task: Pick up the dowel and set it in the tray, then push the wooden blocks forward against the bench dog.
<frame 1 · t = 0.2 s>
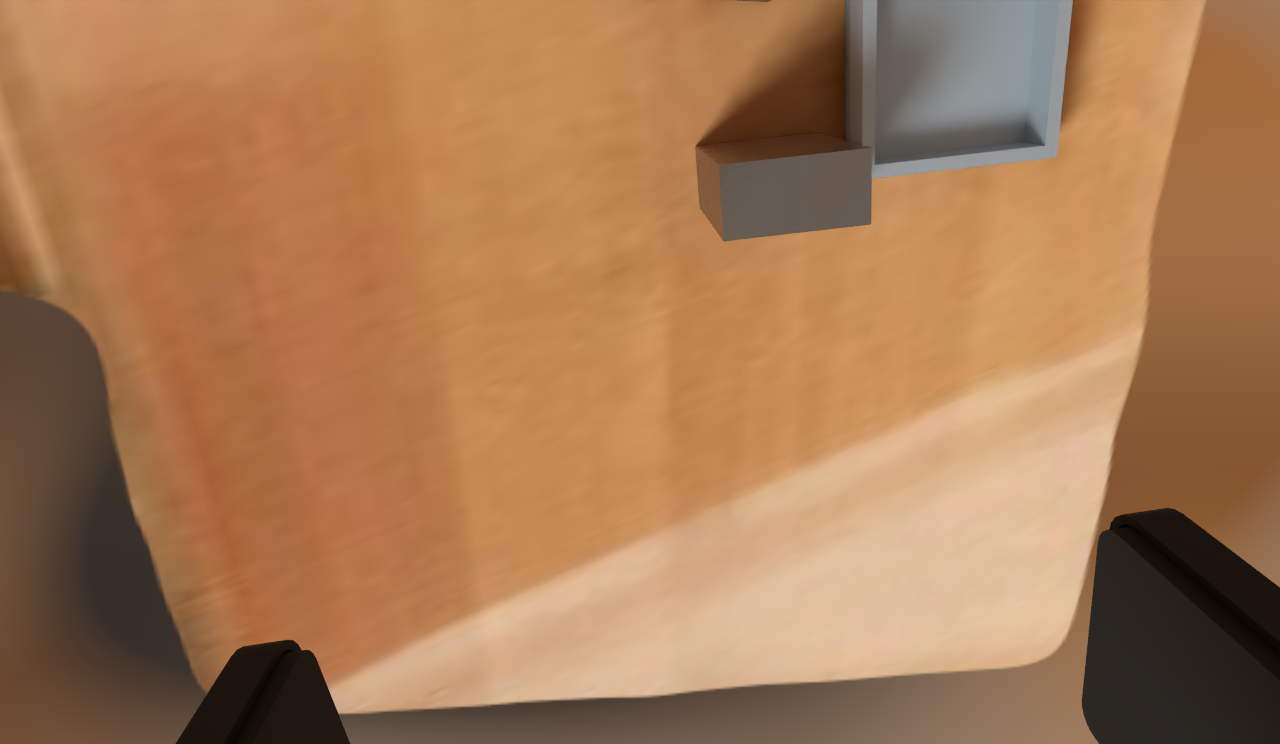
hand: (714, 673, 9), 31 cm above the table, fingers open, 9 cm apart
bench dog: (757, 170, 37), on the table
tray: (941, 63, 36), on the table
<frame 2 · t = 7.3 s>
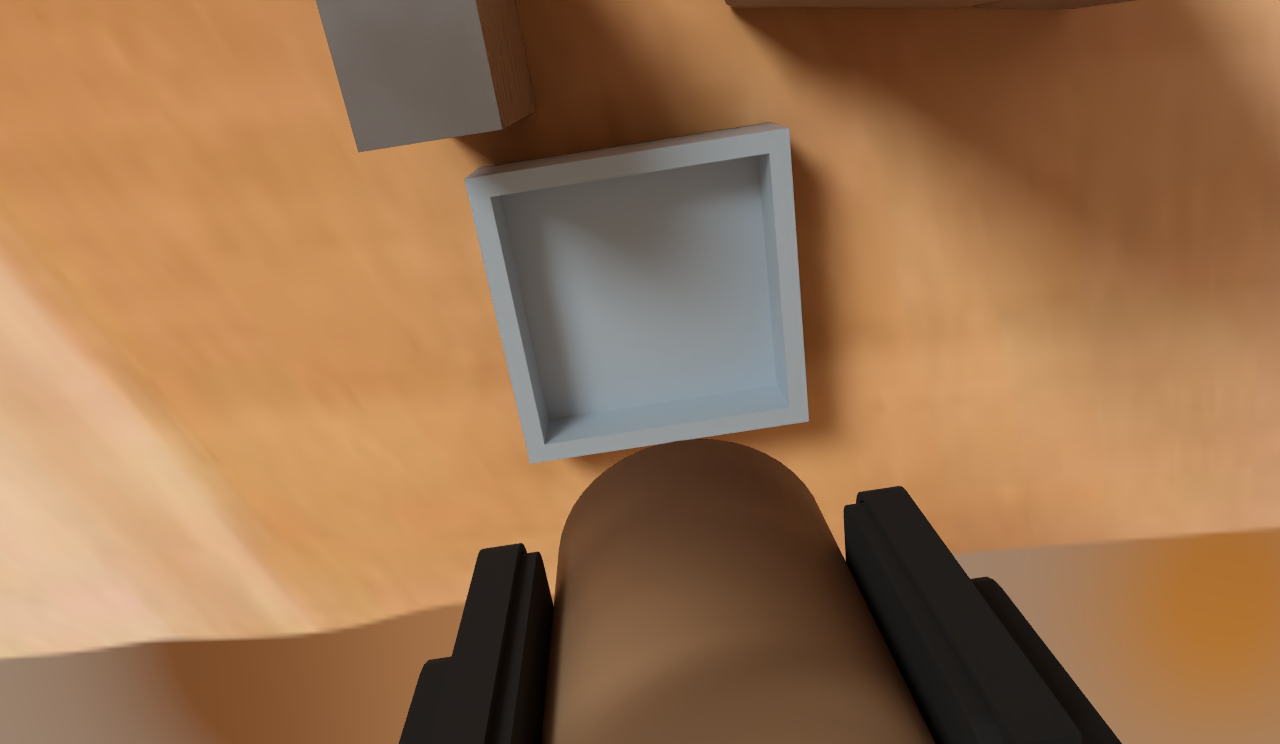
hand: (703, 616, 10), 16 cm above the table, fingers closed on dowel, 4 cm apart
dowel: (693, 559, 11), point 15 cm above the table, touching gripper
bench dog: (464, 10, 22), on the table
tray: (645, 287, 25), on the table
when the fingers open (3 cm above the table, at t = 10.5 s): dowel stays where it is, resting on tray.
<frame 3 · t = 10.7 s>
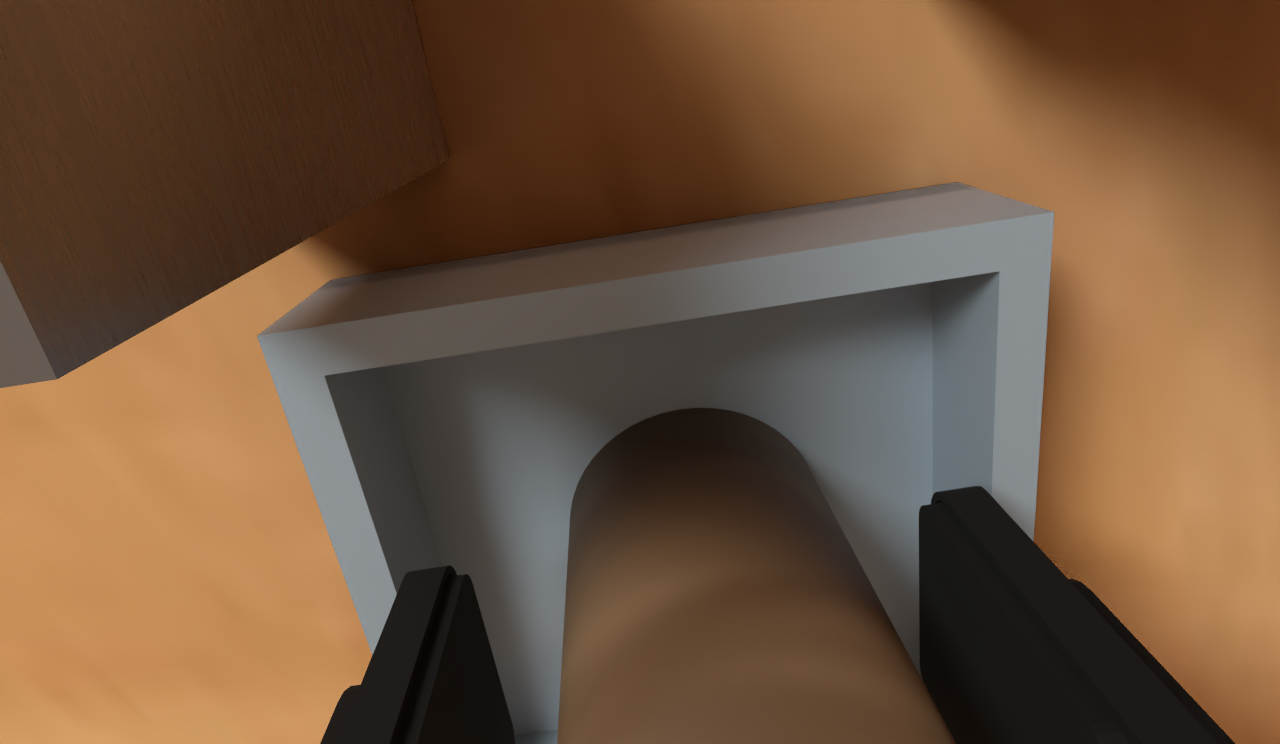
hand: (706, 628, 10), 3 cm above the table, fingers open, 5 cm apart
dowel: (694, 520, 12), point 1 cm above the table, touching tray
tray: (681, 500, 13), on the table
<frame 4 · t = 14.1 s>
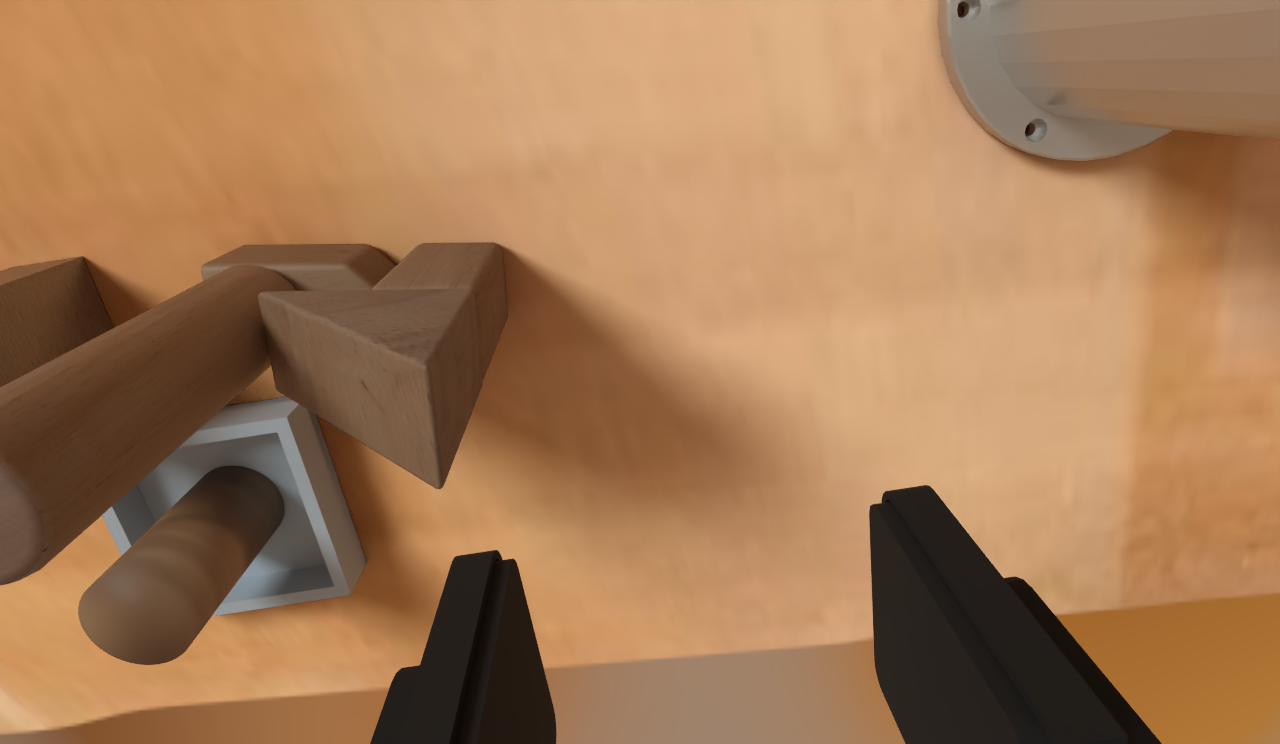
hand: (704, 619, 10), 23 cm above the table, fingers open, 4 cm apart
wooden blocks: (379, 282, 32), on the table
dowel: (240, 503, 34), point 1 cm above the table, touching tray
bench dog: (77, 330, 32), on the table
tray: (243, 496, 35), on the table
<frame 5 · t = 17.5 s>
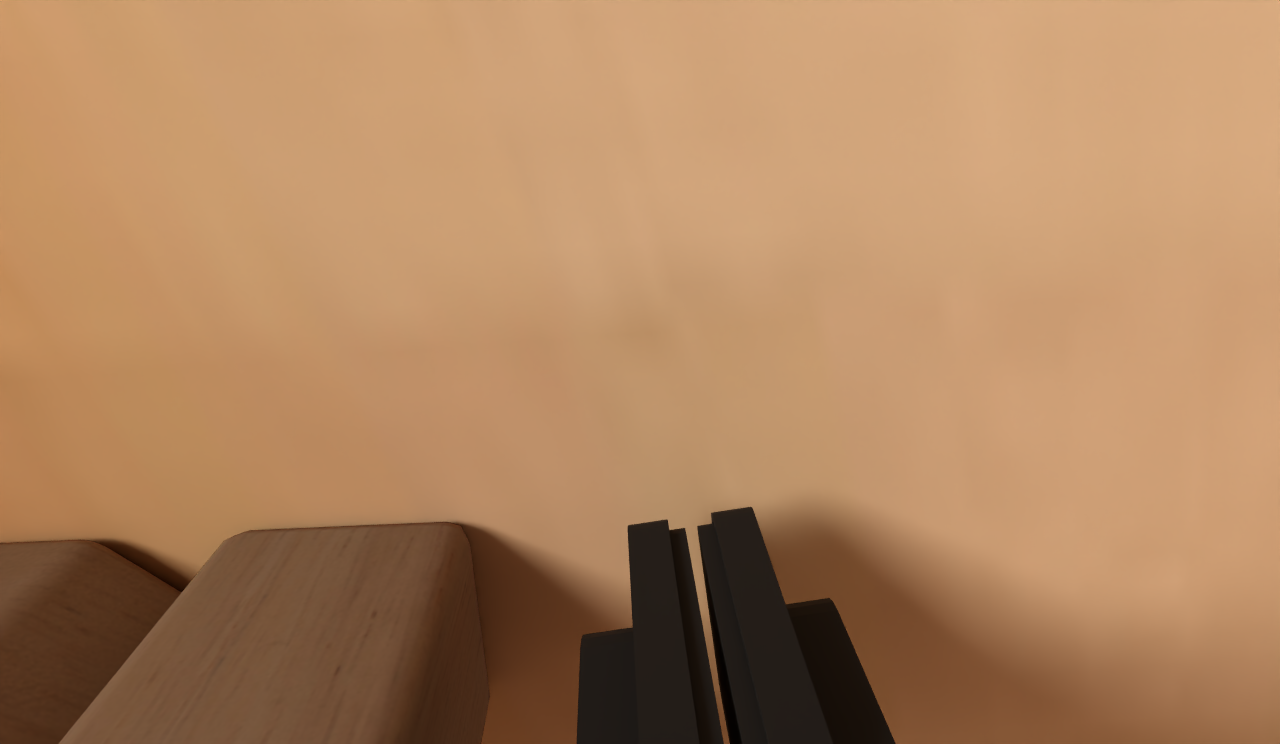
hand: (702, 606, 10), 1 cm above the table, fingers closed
wooden blocks: (142, 615, 12), on the table, touching gripper
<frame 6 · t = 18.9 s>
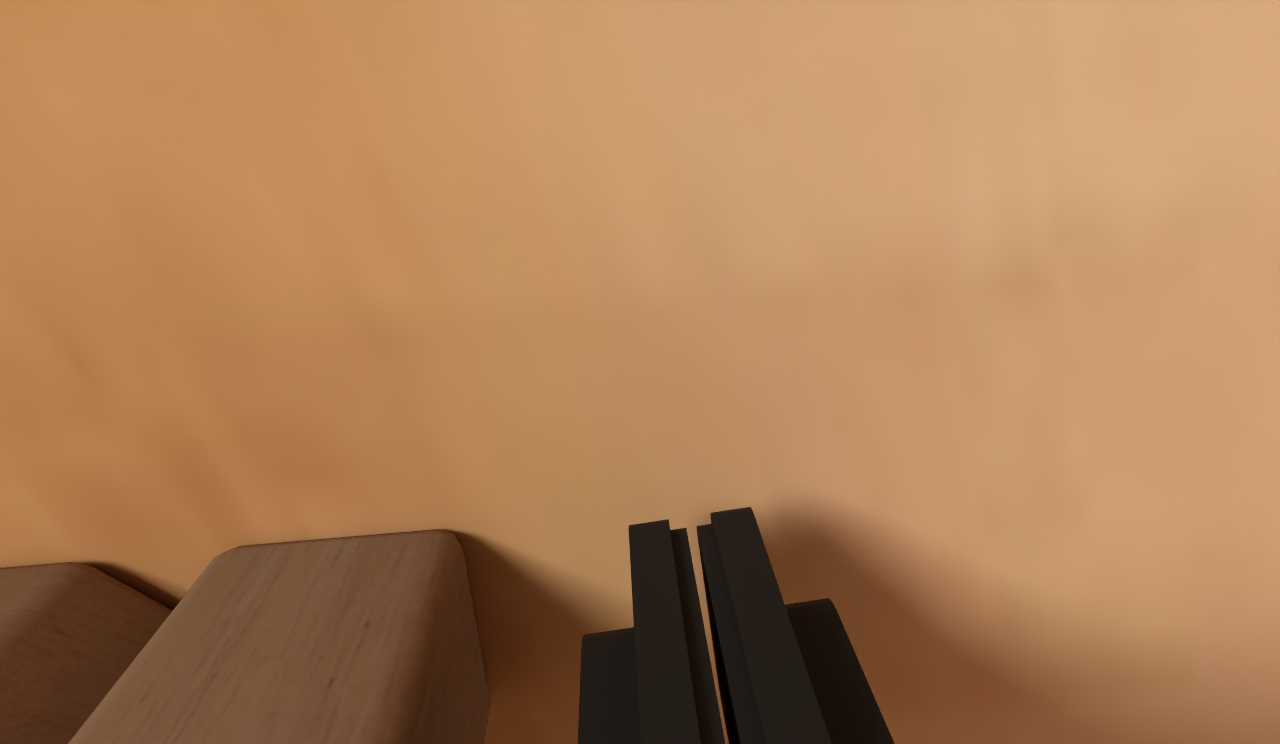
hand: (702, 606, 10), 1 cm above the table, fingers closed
wooden blocks: (136, 636, 12), on the table, touching bench dog, gripper
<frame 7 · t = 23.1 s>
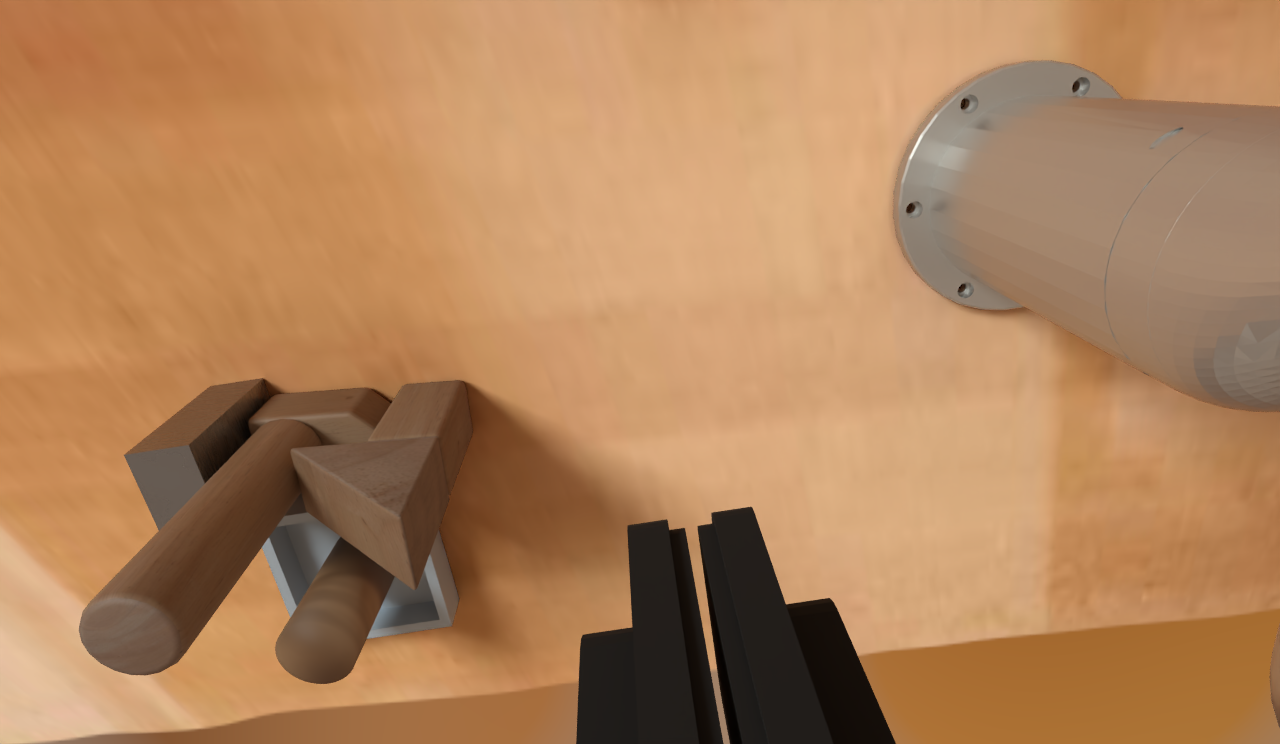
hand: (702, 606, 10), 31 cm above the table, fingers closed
wooden blocks: (376, 411, 43), on the table
dowel: (367, 556, 45), point 1 cm above the table, touching tray
bench dog: (254, 430, 43), on the table
tray: (368, 550, 46), on the table
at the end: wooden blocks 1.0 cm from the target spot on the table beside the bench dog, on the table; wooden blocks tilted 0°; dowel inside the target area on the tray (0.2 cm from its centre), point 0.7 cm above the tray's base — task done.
